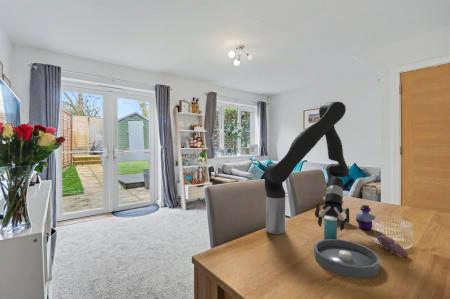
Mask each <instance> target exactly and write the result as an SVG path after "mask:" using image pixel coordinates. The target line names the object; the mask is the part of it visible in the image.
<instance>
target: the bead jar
mask: <svg viewBox="0 0 450 299" xmlns="http://www.w3.org/2000/svg"><path fill="white" fill-rule="evenodd" d="M323 221H324V222H323V240H326V239H338V220H337V218H336V217H334V216H324V218H323Z"/></svg>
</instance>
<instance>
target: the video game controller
mask: <svg viewBox="0 0 450 299" xmlns="http://www.w3.org/2000/svg"><path fill="white" fill-rule="evenodd" d="M377 241H378V244H380V245H381V246H382V247H383V248H384V250H386V251H390V253H391V254H393V255H396V254H398V255H399V256H400V257H401V256H402V257H403V258H407V257H408V256H409V253H408V252H407V250H406V249H404V248H403V247H402V246H401V245H400V244H399V243H398V242H397V241H395V240H394V239H393V238H391V237H389V236H386V235H384V234H383V235H381V236H378V237H377Z"/></svg>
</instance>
